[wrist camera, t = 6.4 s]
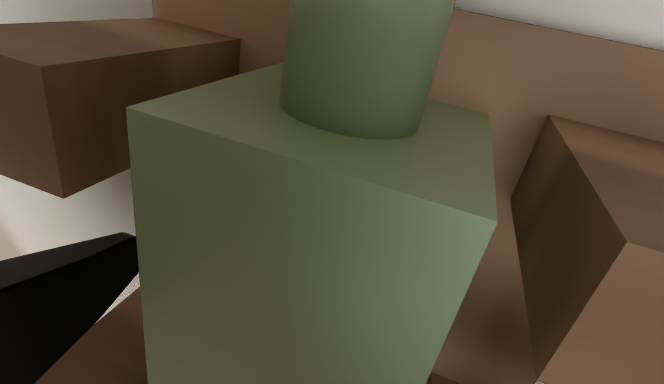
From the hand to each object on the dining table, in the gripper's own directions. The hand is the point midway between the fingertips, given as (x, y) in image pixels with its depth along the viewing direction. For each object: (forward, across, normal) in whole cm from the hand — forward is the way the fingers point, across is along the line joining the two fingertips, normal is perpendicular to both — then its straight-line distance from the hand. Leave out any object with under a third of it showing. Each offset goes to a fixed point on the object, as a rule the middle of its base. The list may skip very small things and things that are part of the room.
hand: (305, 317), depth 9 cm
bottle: (+3, 0, -2) cm, 3 cm away
